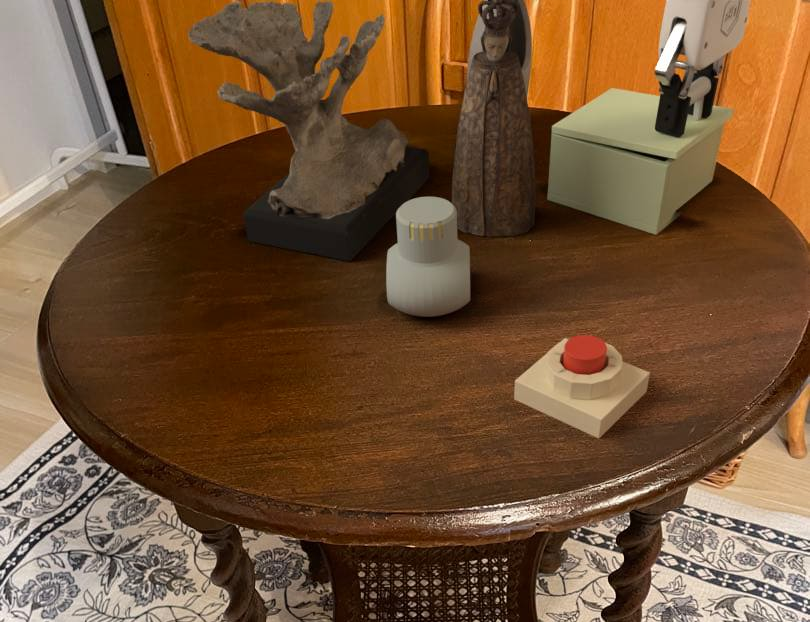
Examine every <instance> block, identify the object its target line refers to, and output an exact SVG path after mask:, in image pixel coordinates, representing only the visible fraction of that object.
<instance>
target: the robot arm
mask: <svg viewBox="0 0 810 622" xmlns="http://www.w3.org/2000/svg"><path fill="white" fill-rule="evenodd" d="M751 2H752V0H666V1H665V5H664V10H663V15H662V21H661V22H662V23H661V26H660V33H659V40H658V52H657V53H658V58H659V60H658V61H657V64H656V66H655V69H654V76H655V77H656V79H657V80H658V84H659V88H658V92H659V96H660V100H659V105H658V111H657V117H656V123H655V130H656V131H657V132H660V133H664V134H667V135H671V136H674V137H678V138H679V137H681V136H682V135H683V134H684V131H685V126H686V121H687V116H688V114H692V115H693V112H694V105H695V102H694V103H693V104H692V105H690V101H691V97H689V96H687V95H688V93H689V90H690V86H691V83H692V82H694V81H695V80H697V79H698V78H700V77H707V78H708V79H709V80H710V82H711V89H710V91H709V92H708V93H707V94H706V95H704V101H703V108H702V115H701V117H703V118H707V117H709V116H710V115H711V112H712V108H713V105H714V102H715V98H716V94H717V93H716V92H717V89H718V85H719V79H720V76H721V74H722V72H723V69H724V60H725V56H726V55H727V54H729V53H730V52H731V51H733V50H734V49H735V48H737V47H738V46H740V44H741V42H742V41H743V39H744V36H745V32H746V26H747V21H748V17H749V11H750V6H751ZM680 55H681V56H684V57H685V61H683V60H680V59H679V57H680ZM675 69H679V70H683V71H684V75H683V77H682V78H681V76H680V74H678V73H676V70H675Z"/></svg>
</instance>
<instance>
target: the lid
mask: <svg viewBox="0 0 810 622" xmlns="http://www.w3.org/2000/svg"><path fill="white" fill-rule="evenodd" d="M710 89H711V82H710V80H709V79H708V78H707V77H700V78H698V79H697V80H695V81H694V82H692V83H691V86H690V90H689V93H688V95H687V96H689V97H691V101H690V105H692V104H693V103H694V102H695V105H694V112H693V115H692V114H688V116H687V121H686V126H685V131H684V134H683V135H682V136H681V137H679V138H678V137H674V136H671V135H667V134H664V133H660V132H657V131H656V130H655V123H656V117H657V111H658V105H659V100H660V95H656V94H649V93H643V92H638V91H633V90H627V89H622V88H615V87H610V89H607V90H606V91H605V92H602V94H600V95H598V96H597V97H595V98H594V99H592V100H591V101H589V102H587V103H586V104H584V105H583V106H581V107H580V108H578V109H576V110H575V111H573V112H571V113H570V114H569V115H567V116H565V117H564V118H562V119H560V120H559V121H557V122H556V123H554V124H552V125H551V134H552V133H554V134H559V135H563V136H568V137H573V138H578V139H582V140H587V141H592V142H596V143H601V144H606V145H611V146H615V147H620V148H625V149H629V150H634V151H639V152H644V153H648V154H653V155H658V156H663V157H667V158H672V159H677V158H679V157H680V156H681V155H682V154H684V153H685V152H686V151H688V150H689V149H690V148H692V147H693V146H694V145H696V144H697V143H698V142H700V141H701V140H702V139H704V138H705V137H706V136H708V135H709V134H710V133H711V132H713V131H714V130H715V129H717V128H718V127H719V126H721V125H722V124H723V123H724V124H725V123H726V122H728V121H729V120H730V119H731V118H733V116H734V112H735V108H731V107H726V106H725V107H724V106H719V105H715V104H713V108H712V112H711V115H710V116H709V117H707V118H703V117H701V115H702V108H703V101H704V95H706V94H707V93H708V92H709V91H710Z"/></svg>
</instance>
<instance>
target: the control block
mask: <svg viewBox="0 0 810 622" xmlns="http://www.w3.org/2000/svg"><path fill="white" fill-rule="evenodd" d="M569 339H570V338H567V337H565V338H563V339H562V340H561V341H559V342H557V343H556V344H555V345H554V346H553V347H552V348H550V349H549V350H548V351H547V352H546V353H545V355H543V356H542V357H541V358H540V359H538V360H536V362H535V363H534V364H533V365H531V366H530V367H529V368H528V369H527V370H525V371H524V372H523V373H522V374H521V375H520V376H519V377H517V378H516V379H515V380H514V393H513V394H514V396H513V400H515V401H516V402H519V403H521V404H523V405H525V406H528V407H529V408H532V409H534V410H536V411H539V412H540V413H543V414H545V415H547V416H549V417H551V418H554V419H555V420H558V421H560V422H562V423H563V424H566V425H569V426H570V427H573V428H575V429H577V430H579V431H581V432H583V433H586V434H588V435H590V436H592V437H595V438H597V439H600V438H601V437H602V436H603V435H604V434H605V433H606V432H608V430H609V429H610V428H611V427H613V425H614V424H615V423H617V422H618V420H620V418H622V417H623V416H624V415H625V414H626V413H627V412H628V411H629V410H630V409H631V408H632V407H633V406H634V405H635V404H636V403H637V402H638V401H639V400H640V399H641V398H642V397H643V396H644V395H645V394H646V393H647V391H648V385H649V380H650V376H651V375H650V374H651V372H650V371H647V370H645V369H642V368H640V367H638V366H635V365H633V364H630V363H628V362H625V361H623V355H622V354H621V353H620V352H619V351H618V350H617V349H616V347H614V345H611V344H609V343H607V342H605V344H606V346H607V352H606V359H605V366H604V368H603V369H602V370H601V371H600V372H599V373H595V374H591V375H582V374H575V373H573V372H570V371H568V370H567V369H566V368H565V367H564V364H563V358H564V347H565V344H566V342H567V341H568V340H569Z"/></svg>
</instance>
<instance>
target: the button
mask: <svg viewBox="0 0 810 622" xmlns="http://www.w3.org/2000/svg"><path fill="white" fill-rule="evenodd" d="M568 339H569V340H568V341H567V342H566V344H565V347H564V358H563V364H564V367H565V368H566V369H567V370H568V371H570V372H573V373H575V374H582V375H591V374H595V373H599V372H600V371H601V370H602V369H603V368H604V366H605V359H606V352H607V346H606V344H605V343H606V342H605V341H604V340H602V339H601V338H599V337H597V336H594V335H591V334H580V335H576V336H573V337H570V338H568Z"/></svg>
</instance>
